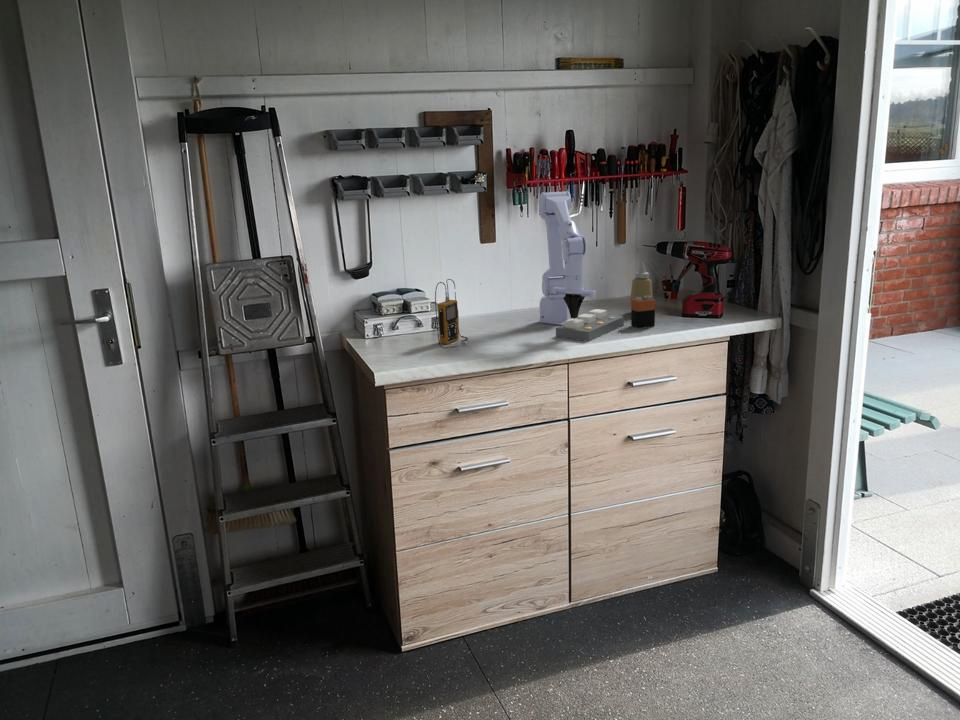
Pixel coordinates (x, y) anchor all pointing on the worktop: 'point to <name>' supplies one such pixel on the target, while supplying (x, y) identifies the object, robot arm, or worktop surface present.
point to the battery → (643, 312)
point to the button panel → (591, 328)
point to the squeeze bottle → (641, 284)
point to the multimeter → (448, 320)
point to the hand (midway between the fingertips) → (574, 317)
